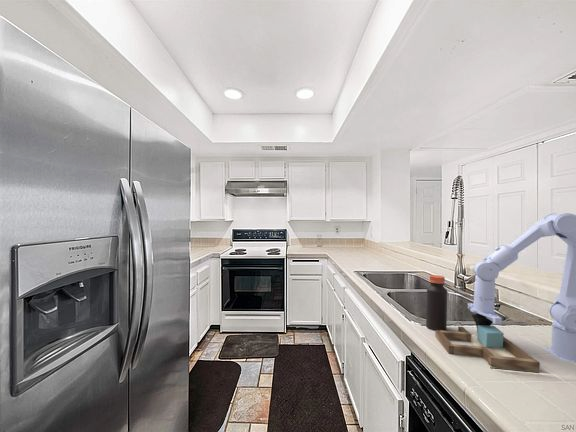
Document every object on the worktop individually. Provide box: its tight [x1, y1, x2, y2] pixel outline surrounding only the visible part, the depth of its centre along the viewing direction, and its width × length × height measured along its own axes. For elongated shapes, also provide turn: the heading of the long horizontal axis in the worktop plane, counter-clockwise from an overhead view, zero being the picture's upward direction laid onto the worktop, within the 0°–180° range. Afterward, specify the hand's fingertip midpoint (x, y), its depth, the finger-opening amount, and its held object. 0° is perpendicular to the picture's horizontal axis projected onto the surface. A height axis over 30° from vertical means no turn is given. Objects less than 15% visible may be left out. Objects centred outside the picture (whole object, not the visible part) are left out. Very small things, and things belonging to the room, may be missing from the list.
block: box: [476, 324, 504, 348], centre depth 93 cm, size 5×5×5 cm
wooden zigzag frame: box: [434, 326, 541, 374], centre depth 90 cm, size 21×22×3 cm
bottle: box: [425, 274, 448, 332], centre depth 106 cm, size 7×7×20 cm
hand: (482, 336), depth 96 cm, fingers closed, pressing on block
